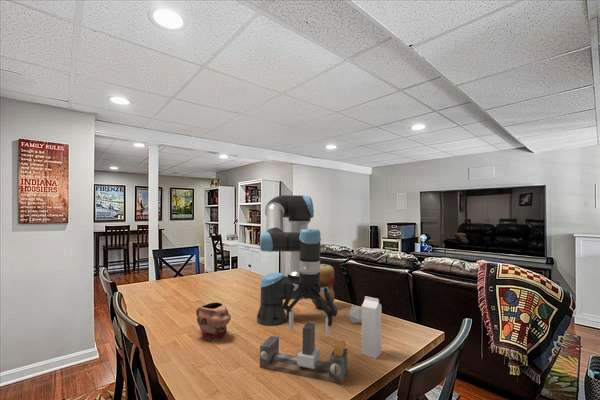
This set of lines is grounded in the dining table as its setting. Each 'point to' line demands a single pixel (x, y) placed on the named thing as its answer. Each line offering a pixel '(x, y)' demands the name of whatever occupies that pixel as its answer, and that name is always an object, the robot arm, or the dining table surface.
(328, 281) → the butternut squash
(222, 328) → the decorative planter
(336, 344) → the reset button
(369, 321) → the milk
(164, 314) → the dining table surface
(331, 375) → the rail base
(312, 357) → the carriage
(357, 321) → the die
